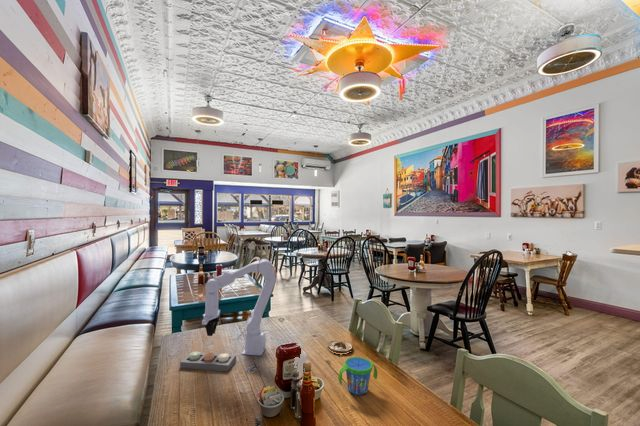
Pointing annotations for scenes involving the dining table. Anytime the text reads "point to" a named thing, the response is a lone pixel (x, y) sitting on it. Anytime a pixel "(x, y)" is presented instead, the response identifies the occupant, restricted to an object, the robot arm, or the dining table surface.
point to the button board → (208, 363)
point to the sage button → (194, 356)
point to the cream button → (223, 358)
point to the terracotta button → (209, 357)
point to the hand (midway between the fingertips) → (211, 334)
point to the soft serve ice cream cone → (300, 361)
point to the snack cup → (357, 374)
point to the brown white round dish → (340, 346)
